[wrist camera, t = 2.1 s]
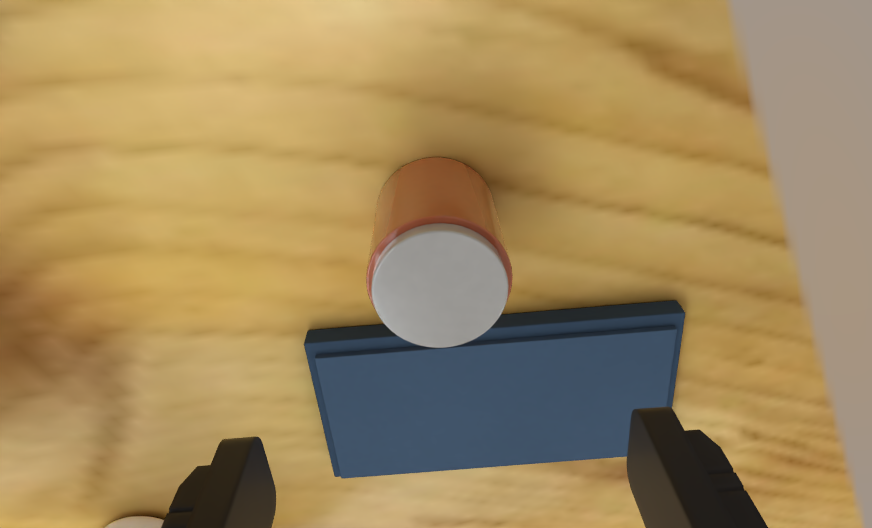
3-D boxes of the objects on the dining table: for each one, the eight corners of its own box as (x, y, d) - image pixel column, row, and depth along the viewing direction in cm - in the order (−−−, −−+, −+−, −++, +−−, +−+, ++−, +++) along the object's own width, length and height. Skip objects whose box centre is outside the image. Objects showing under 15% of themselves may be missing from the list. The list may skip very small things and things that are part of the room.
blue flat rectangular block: (307, 329, 26) (302, 347, 25) (676, 299, 26) (688, 316, 25) (337, 461, 30) (333, 482, 29) (658, 436, 30) (668, 456, 29)
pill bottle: (369, 162, 23) (354, 231, 17) (491, 151, 22) (513, 217, 17) (384, 268, 25) (375, 358, 19) (495, 259, 25) (516, 347, 19)
